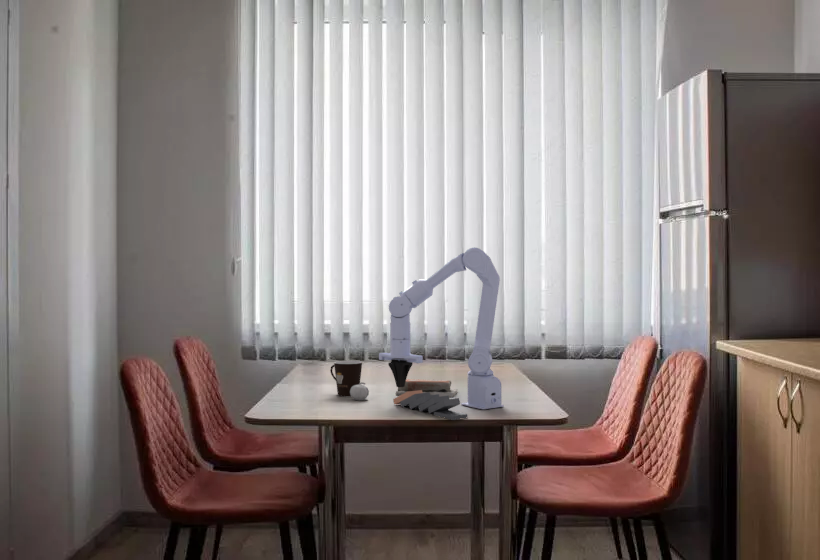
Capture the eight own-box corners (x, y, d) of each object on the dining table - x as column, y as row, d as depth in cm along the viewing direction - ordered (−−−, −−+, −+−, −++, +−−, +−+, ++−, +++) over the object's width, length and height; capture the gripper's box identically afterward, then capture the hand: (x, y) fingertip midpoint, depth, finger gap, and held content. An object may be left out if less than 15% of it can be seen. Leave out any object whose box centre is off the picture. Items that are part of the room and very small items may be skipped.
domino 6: (448, 415, 195) (467, 420, 188) (433, 417, 192) (452, 422, 186) (448, 409, 195) (467, 414, 188) (433, 411, 192) (452, 416, 186)
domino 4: (434, 409, 200) (450, 401, 194) (419, 411, 197) (435, 403, 191) (432, 403, 200) (448, 395, 194) (418, 405, 198) (433, 397, 191)
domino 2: (415, 405, 207) (430, 397, 201) (401, 407, 204) (416, 399, 198) (414, 399, 207) (429, 392, 201) (400, 401, 205) (415, 393, 199)
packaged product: (395, 381, 225) (401, 376, 234) (395, 396, 225) (401, 392, 234) (453, 382, 221) (458, 378, 231) (453, 398, 221) (458, 393, 231)
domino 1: (408, 403, 210) (423, 395, 204) (394, 404, 207) (408, 397, 201) (407, 397, 211) (421, 389, 204) (393, 399, 208) (407, 391, 202)
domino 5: (443, 411, 196) (460, 404, 190) (429, 413, 194) (445, 406, 187) (442, 405, 197) (458, 398, 190) (427, 407, 194) (443, 399, 188)
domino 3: (424, 407, 203) (440, 400, 197) (410, 409, 201) (425, 401, 195) (423, 401, 204) (438, 394, 198) (408, 403, 201) (423, 395, 195)
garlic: (373, 399, 218) (373, 381, 218) (362, 402, 213) (362, 384, 213) (357, 397, 221) (356, 380, 221) (345, 400, 216) (345, 382, 216)
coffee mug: (366, 396, 223) (365, 363, 223) (338, 397, 220) (338, 364, 220) (354, 390, 234) (354, 359, 234) (328, 392, 231) (328, 360, 231)
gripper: (429, 339, 208) (429, 387, 208) (389, 336, 217) (390, 382, 217) (413, 341, 202) (414, 390, 202) (374, 338, 211) (374, 385, 211)
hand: (400, 386), depth 209 cm, fingers closed
